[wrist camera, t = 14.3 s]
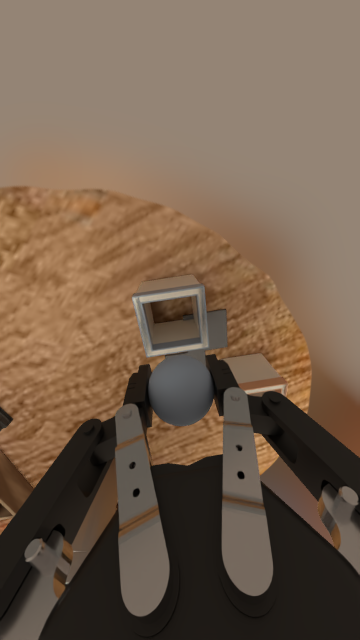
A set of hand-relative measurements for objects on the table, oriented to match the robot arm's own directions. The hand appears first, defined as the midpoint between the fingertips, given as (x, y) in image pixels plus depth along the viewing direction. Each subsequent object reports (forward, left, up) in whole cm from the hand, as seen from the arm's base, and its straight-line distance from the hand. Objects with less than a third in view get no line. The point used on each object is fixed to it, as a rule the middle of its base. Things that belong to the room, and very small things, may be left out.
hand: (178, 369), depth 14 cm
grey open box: (+11, -16, -16) cm, 25 cm away
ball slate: (0, 0, 0) cm, 0 cm away
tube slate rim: (0, 0, -16) cm, 16 cm away
